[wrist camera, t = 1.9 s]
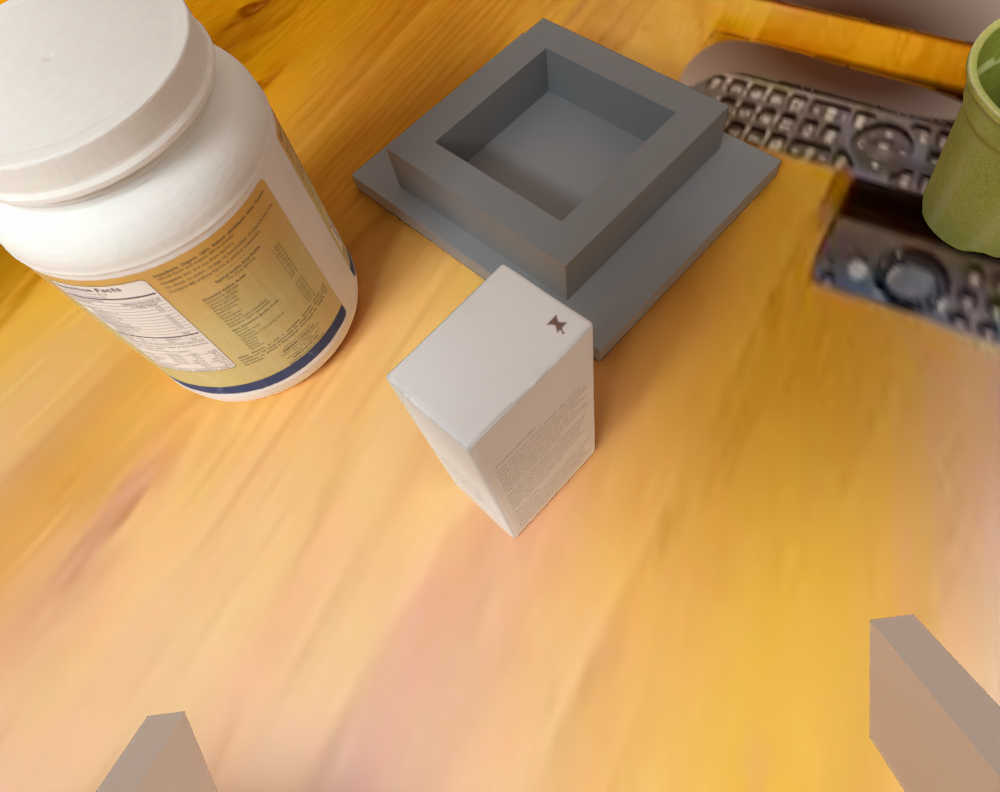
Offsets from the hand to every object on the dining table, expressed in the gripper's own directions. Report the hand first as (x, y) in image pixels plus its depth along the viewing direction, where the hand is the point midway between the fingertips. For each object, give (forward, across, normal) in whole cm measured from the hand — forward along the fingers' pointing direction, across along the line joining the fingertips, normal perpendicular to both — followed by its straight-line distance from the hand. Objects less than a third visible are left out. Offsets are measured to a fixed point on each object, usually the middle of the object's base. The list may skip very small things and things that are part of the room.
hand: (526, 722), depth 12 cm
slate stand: (+32, +4, +9) cm, 33 cm away
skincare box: (+19, 0, -4) cm, 20 cm away
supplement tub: (+28, -14, +5) cm, 31 cm away
